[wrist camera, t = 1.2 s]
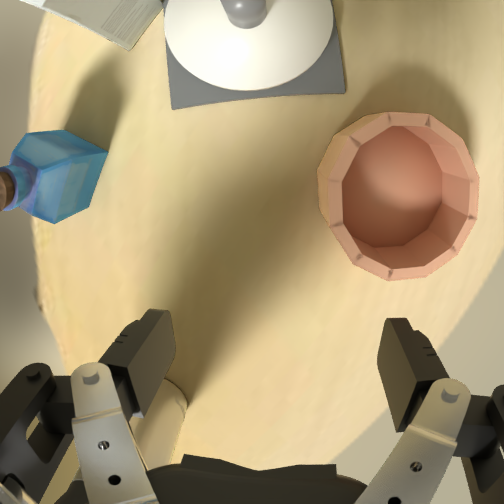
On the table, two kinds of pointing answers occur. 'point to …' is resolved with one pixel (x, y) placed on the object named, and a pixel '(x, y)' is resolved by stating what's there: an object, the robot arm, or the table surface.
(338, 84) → the mat
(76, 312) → the table surface
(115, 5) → the skincare box
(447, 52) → the table surface
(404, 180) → the bowl
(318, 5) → the lid
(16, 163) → the perfume bottle
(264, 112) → the table surface
